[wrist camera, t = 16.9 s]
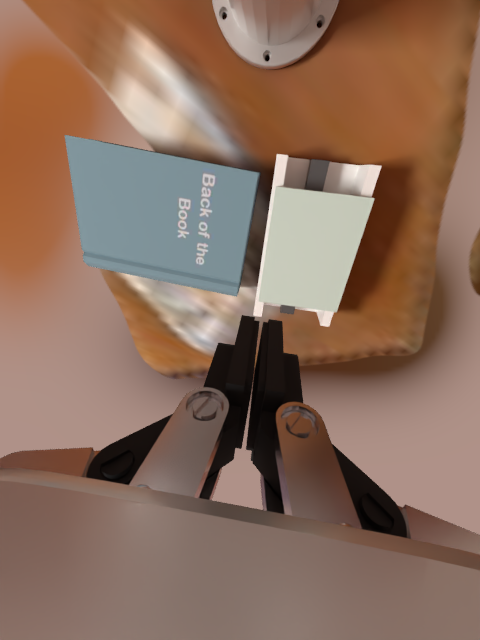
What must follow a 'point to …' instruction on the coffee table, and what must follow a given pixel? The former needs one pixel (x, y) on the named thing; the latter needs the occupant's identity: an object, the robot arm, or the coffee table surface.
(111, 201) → the book
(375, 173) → the white channel
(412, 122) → the coffee table surface
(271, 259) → the cover
